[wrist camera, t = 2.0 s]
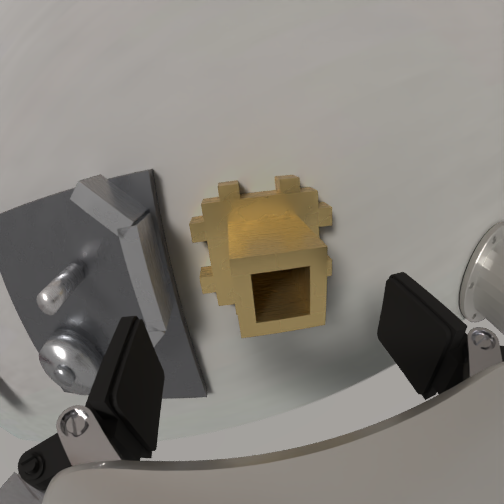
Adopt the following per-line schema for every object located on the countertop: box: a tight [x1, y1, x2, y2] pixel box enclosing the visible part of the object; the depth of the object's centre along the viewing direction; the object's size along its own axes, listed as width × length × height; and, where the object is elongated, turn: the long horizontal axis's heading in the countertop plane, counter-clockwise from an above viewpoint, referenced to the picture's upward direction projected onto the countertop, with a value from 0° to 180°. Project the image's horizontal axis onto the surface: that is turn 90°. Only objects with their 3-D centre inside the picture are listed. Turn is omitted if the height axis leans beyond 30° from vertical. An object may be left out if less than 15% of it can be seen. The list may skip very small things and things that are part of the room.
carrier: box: [0, 169, 207, 398], centre depth 17 cm, size 17×20×6 cm
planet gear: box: [189, 175, 332, 338], centre depth 15 cm, size 9×9×7 cm
